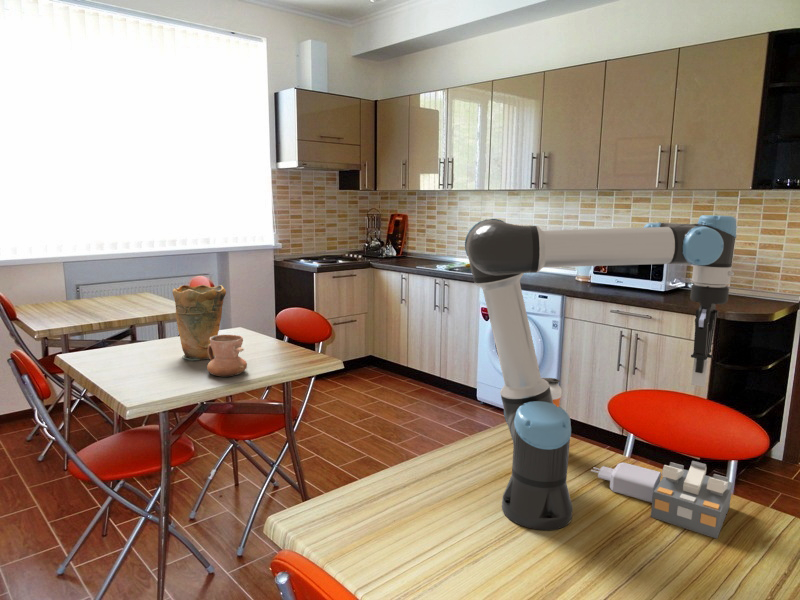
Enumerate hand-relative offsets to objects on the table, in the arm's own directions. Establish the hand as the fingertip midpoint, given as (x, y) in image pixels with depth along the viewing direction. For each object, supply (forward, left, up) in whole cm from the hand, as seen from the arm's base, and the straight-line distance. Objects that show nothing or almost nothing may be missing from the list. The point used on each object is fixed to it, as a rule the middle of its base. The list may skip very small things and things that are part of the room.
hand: (698, 385), depth 134 cm
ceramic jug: (-15, +158, -27) cm, 161 cm away
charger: (-8, +12, -27) cm, 31 cm away
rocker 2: (-10, -3, -18) cm, 21 cm away
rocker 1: (-10, +2, -18) cm, 21 cm away
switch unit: (-10, -3, -26) cm, 28 cm away
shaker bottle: (0, +37, -27) cm, 46 cm away
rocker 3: (-10, -8, -18) cm, 22 cm away
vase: (-7, +185, -27) cm, 187 cm away
